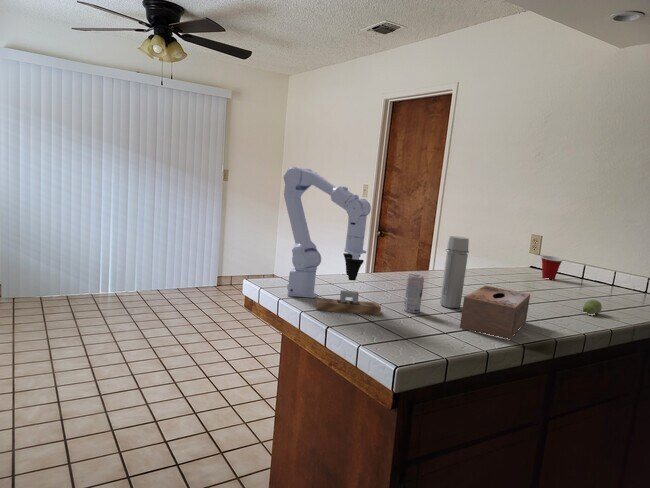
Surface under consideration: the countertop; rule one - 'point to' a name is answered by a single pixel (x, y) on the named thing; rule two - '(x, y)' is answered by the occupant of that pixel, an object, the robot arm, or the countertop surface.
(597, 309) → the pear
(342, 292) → the brushed metal block
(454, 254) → the water bottle
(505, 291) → the tissue box cover
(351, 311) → the rail
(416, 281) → the energy drink
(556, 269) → the plastic cup
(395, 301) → the countertop surface
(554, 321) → the countertop surface
